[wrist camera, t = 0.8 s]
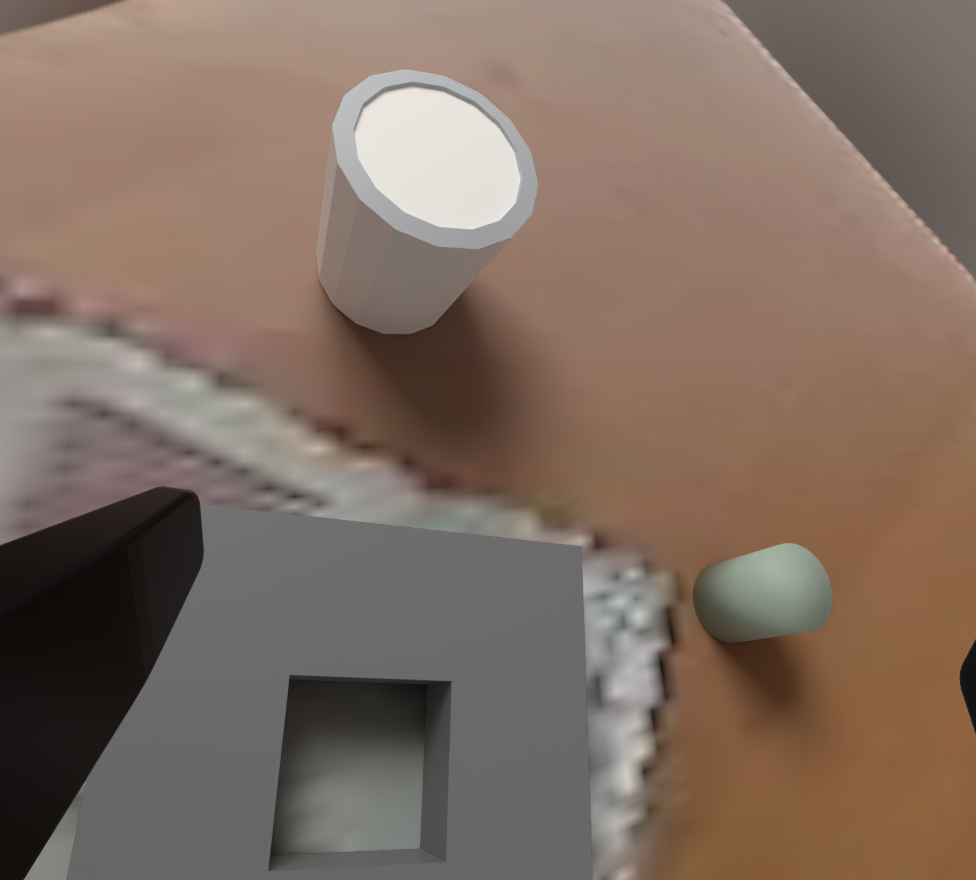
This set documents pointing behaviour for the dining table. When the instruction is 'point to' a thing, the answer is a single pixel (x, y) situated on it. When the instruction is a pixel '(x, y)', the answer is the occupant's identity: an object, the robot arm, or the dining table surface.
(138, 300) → the dining table surface
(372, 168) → the shot glass
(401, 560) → the hole plate
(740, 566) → the short pin
